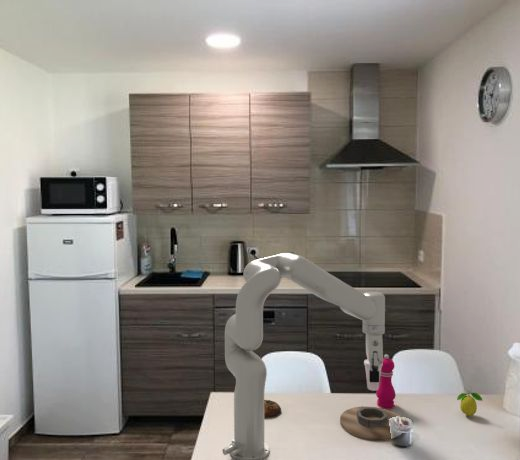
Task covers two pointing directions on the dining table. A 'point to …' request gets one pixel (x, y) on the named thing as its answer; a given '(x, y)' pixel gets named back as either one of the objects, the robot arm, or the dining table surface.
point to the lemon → (469, 403)
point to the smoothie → (370, 385)
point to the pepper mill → (386, 385)
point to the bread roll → (271, 408)
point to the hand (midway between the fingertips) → (373, 377)
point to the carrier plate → (367, 422)
